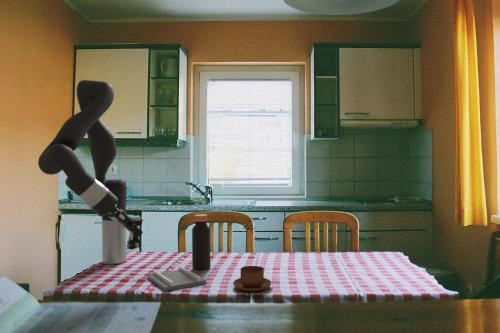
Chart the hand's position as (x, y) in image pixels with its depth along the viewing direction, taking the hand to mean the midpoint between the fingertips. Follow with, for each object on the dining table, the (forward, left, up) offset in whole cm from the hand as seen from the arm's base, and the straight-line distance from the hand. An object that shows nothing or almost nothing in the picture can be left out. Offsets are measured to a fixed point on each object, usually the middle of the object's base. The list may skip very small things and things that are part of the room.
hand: (138, 233), depth 126 cm
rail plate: (+1, +12, -17) cm, 21 cm away
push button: (0, -2, -5) cm, 5 cm away
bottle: (-9, +26, -17) cm, 33 cm away
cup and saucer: (+21, +30, -18) cm, 40 cm away
